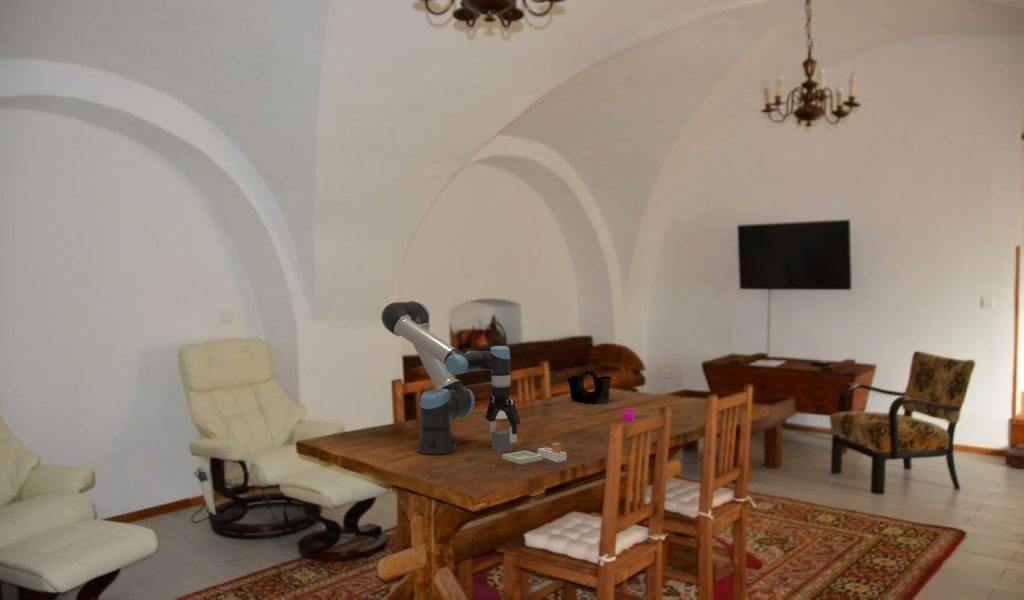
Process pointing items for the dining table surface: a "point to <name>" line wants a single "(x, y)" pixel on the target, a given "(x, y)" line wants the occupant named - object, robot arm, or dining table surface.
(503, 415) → the lidded jar
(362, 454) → the dining table surface
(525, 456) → the tray
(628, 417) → the toy block
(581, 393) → the black handbag
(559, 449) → the breaker switch
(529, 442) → the dining table surface
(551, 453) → the breaker housing
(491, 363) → the robot arm
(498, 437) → the grey rectangular block
